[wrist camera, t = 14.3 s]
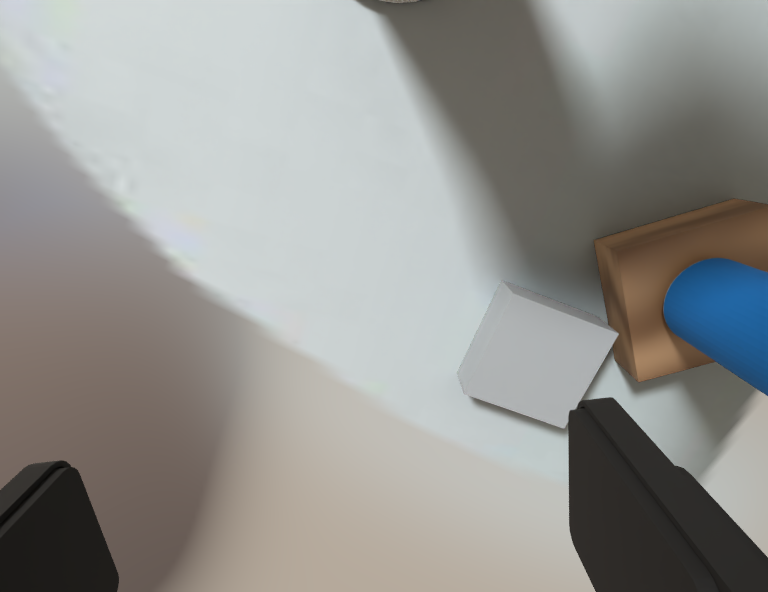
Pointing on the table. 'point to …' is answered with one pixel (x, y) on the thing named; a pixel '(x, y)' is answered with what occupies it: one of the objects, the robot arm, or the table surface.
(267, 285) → the table surface
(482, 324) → the grey square block
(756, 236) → the walnut block
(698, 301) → the beverage can
